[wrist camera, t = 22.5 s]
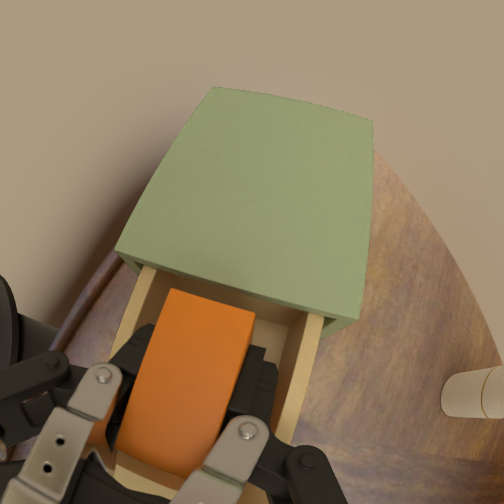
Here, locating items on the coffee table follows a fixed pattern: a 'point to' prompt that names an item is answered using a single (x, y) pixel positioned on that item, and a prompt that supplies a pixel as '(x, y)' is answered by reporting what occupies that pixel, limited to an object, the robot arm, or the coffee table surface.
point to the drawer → (264, 335)
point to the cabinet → (263, 204)
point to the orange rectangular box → (185, 383)
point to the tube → (475, 394)
